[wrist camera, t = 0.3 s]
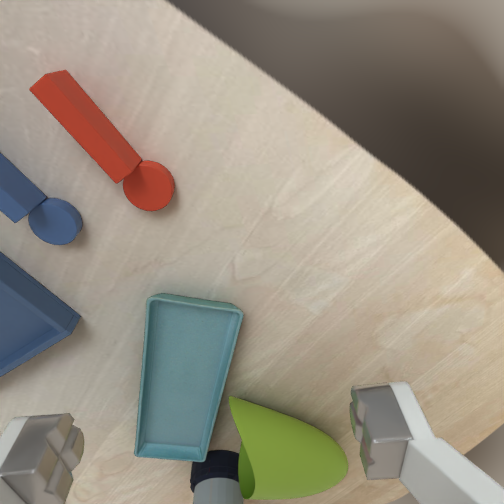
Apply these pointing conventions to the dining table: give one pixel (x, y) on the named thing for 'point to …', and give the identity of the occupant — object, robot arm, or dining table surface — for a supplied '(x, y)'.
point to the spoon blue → (36, 207)
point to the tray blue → (28, 317)
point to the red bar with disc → (104, 141)
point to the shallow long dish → (183, 374)
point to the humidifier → (216, 479)
